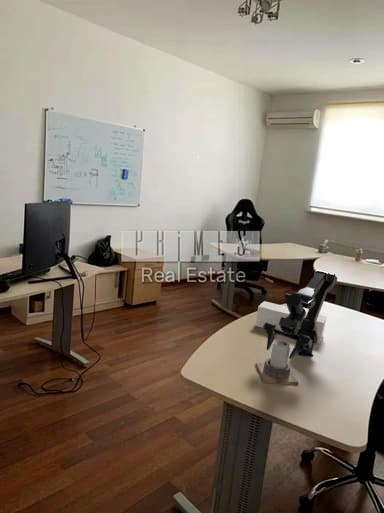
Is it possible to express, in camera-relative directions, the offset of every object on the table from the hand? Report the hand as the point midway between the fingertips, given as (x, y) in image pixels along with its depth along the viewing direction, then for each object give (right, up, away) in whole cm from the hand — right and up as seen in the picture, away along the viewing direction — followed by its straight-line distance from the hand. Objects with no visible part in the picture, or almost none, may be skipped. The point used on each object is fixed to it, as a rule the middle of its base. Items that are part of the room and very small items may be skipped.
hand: (278, 354), depth 145 cm
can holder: (0, -9, +3) cm, 9 cm away
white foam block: (+16, -1, +49) cm, 51 cm away
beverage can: (0, -8, +3) cm, 8 cm away
